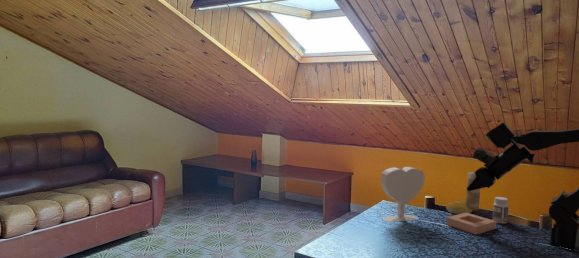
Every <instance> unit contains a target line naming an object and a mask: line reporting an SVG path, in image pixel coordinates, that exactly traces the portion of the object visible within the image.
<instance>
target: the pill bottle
mask: <svg viewBox="0 0 579 258" xmlns="http://www.w3.org/2000/svg"><path fill="white" fill-rule="evenodd" d="M508 201H509V199H508V198H506V197H502V196H495V197H494V202H493V207H492V219H491V220H494V221H496V224H507V223H508V218H509V204H508Z"/></svg>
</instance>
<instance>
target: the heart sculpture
mask: <svg viewBox="0 0 579 258" xmlns="http://www.w3.org/2000/svg"><path fill="white" fill-rule="evenodd" d="M425 177H426V176H425V173H424V171H423V170H422V169H421V170H420V169H419V168H415V167H412V166H404V167H402V168H398V167H394V166H393V167H389V168H387V169H384V170H383V171H382V172H381V174H380V185H381V188H382V190H383V192H384V193H385V194H386V196H388V197H389V198H390V199H392V200H394V201H395V202H397V215H391V216H384V217H383V218H382V220H383V221H386V222H389V223H394V222H403V221H413V220H414V221H415V220H419V217H418V216H416V215H412V214H405V207H406V205H407V204H408V203H409V202H411V201H412V200H413V199H415V198H416V197H417V195H419V194H420V192H421V191H422V189H423V188H424V183H425Z"/></svg>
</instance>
